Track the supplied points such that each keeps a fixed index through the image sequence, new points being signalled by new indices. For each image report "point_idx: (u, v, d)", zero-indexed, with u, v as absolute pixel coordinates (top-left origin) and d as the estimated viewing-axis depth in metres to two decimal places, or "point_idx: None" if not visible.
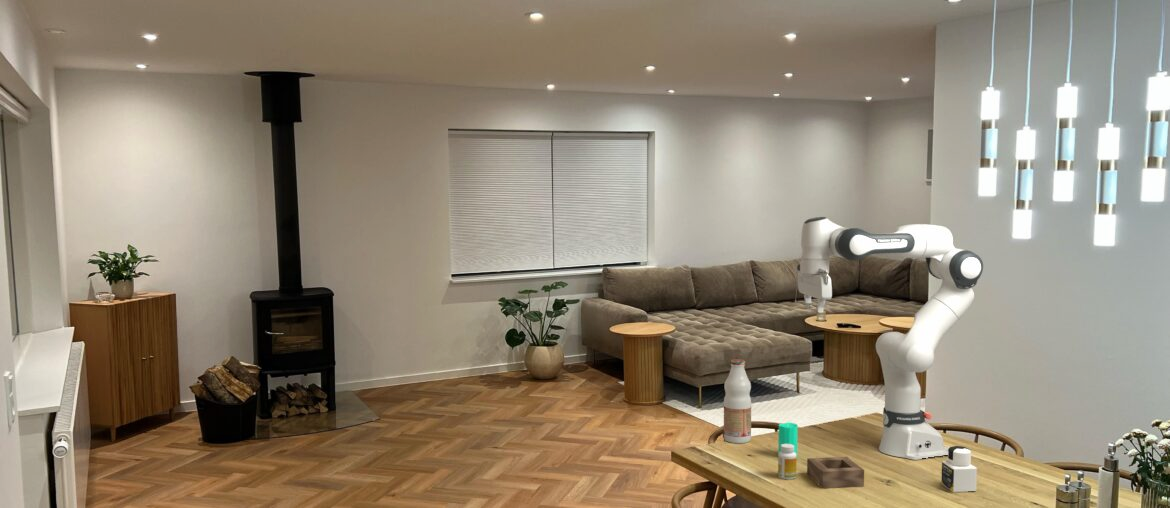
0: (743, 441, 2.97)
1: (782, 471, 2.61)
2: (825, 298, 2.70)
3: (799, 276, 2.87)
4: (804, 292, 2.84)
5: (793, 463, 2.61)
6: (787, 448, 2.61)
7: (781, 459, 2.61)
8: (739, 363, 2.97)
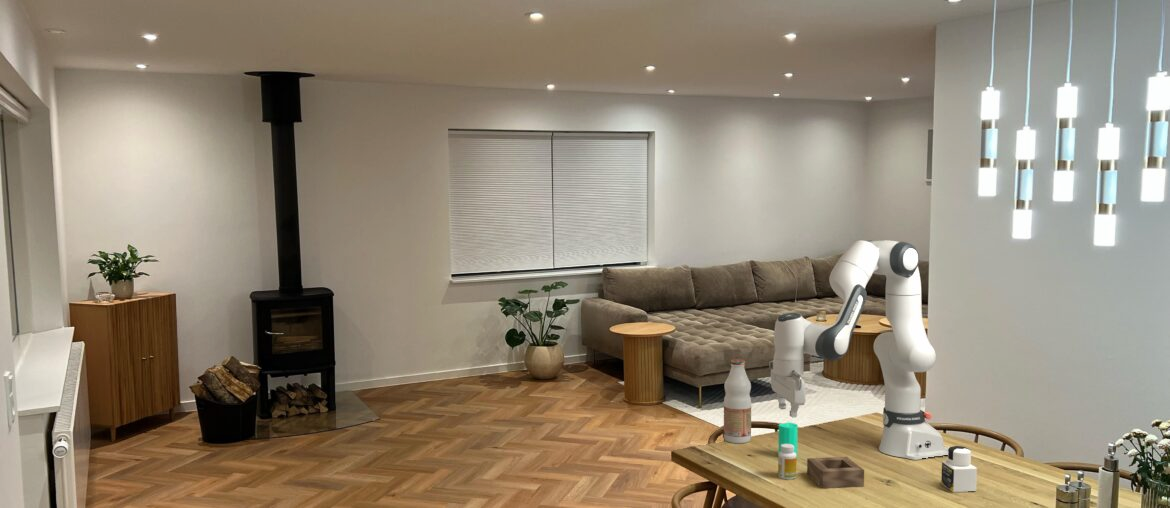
0: (743, 441, 2.97)
1: (782, 471, 2.61)
2: (798, 404, 2.52)
3: (772, 374, 2.69)
4: (777, 392, 2.65)
5: (793, 463, 2.61)
6: (787, 448, 2.61)
7: (781, 459, 2.62)
8: (739, 363, 2.97)
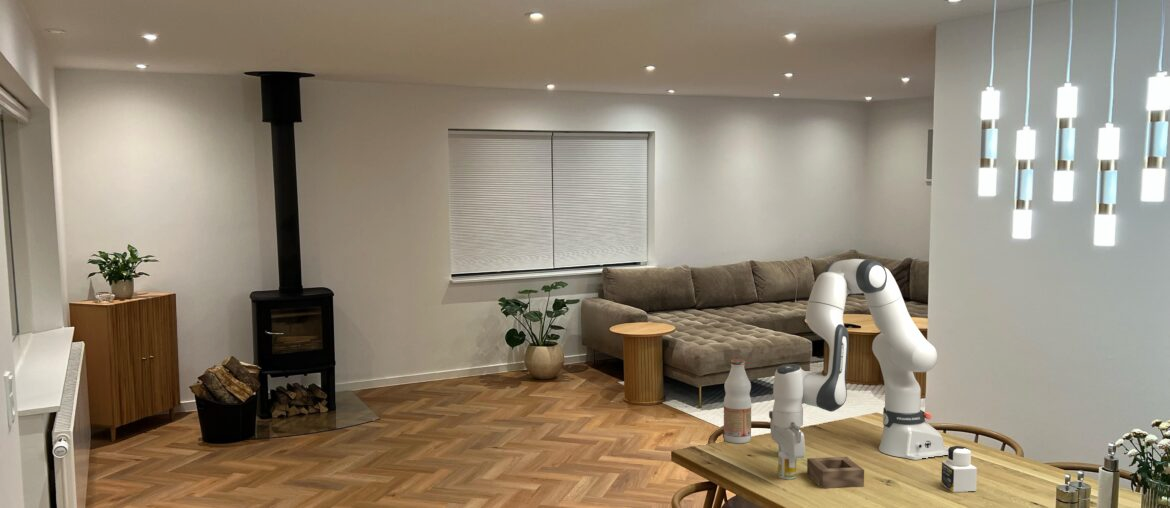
0: (743, 441, 2.97)
1: (782, 471, 2.61)
2: (798, 457, 2.53)
3: (772, 423, 2.70)
4: (777, 442, 2.67)
5: None
6: None
7: (781, 459, 2.62)
8: (739, 363, 2.97)
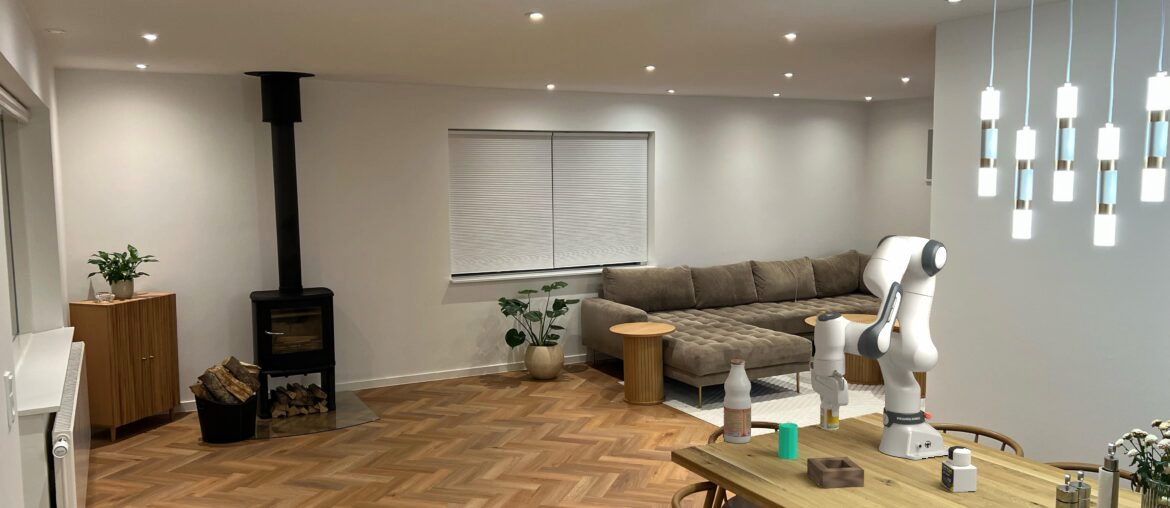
0: (743, 441, 2.97)
1: (825, 422, 2.58)
2: (841, 404, 2.49)
3: (813, 374, 2.66)
4: (818, 392, 2.63)
5: None
6: None
7: (823, 410, 2.58)
8: (739, 363, 2.97)
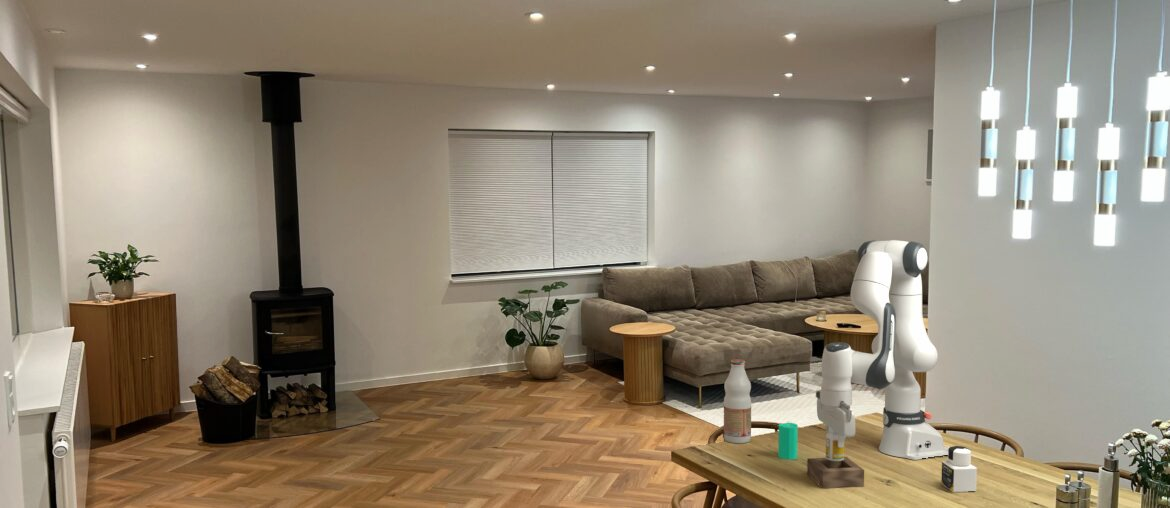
0: (743, 441, 2.97)
1: (830, 453, 2.57)
2: (848, 435, 2.49)
3: (818, 403, 2.66)
4: (824, 422, 2.63)
5: None
6: None
7: (829, 441, 2.58)
8: (739, 363, 2.97)
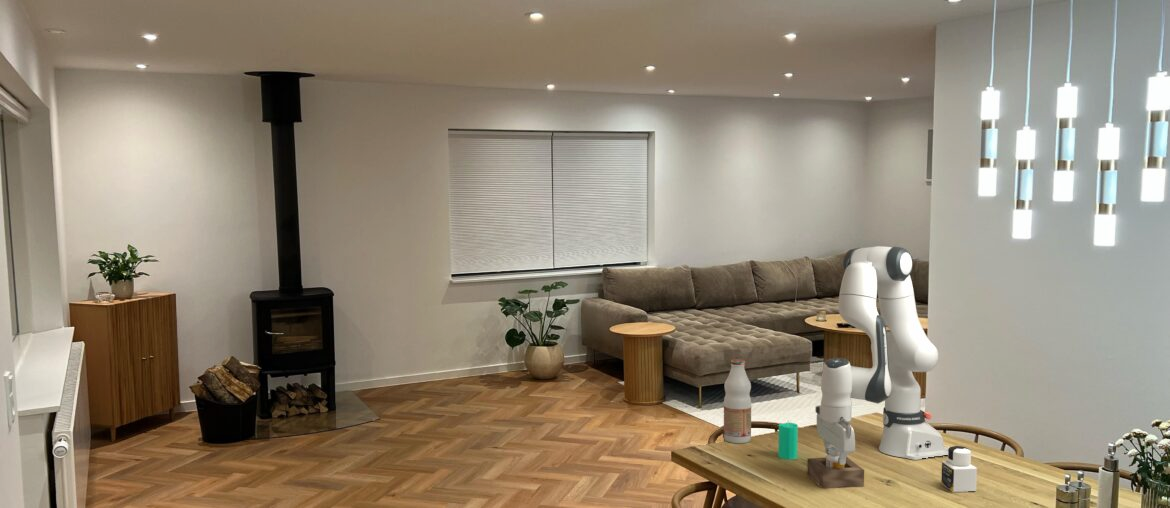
0: (743, 441, 2.97)
1: None
2: (848, 452, 2.49)
3: (818, 418, 2.66)
4: (824, 437, 2.63)
5: (841, 466, 2.57)
6: (835, 451, 2.57)
7: (829, 462, 2.58)
8: (739, 363, 2.97)
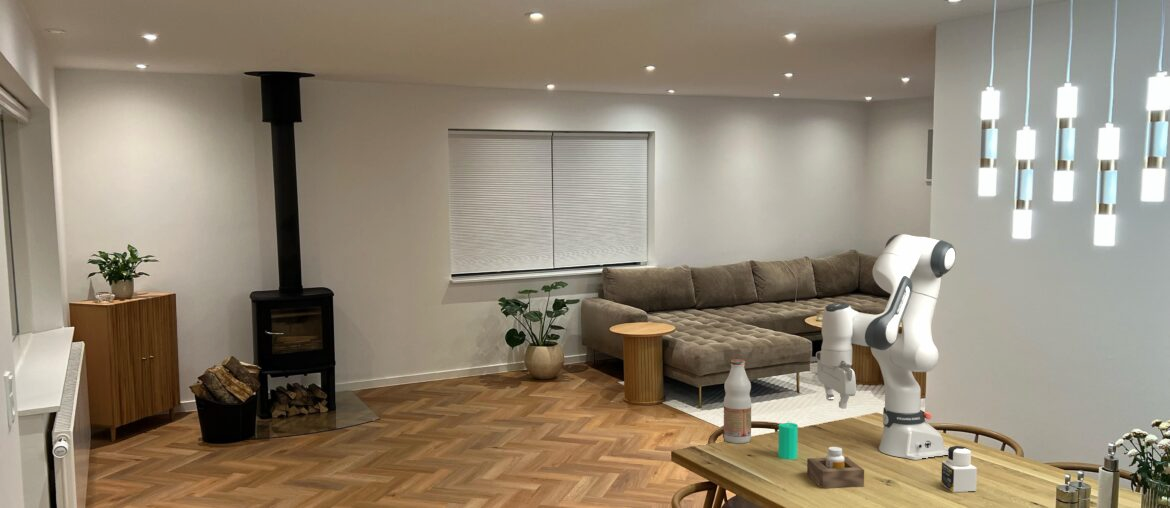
0: (743, 441, 2.97)
1: None
2: (849, 395, 2.48)
3: (819, 365, 2.65)
4: (825, 383, 2.62)
5: (841, 466, 2.57)
6: (835, 451, 2.57)
7: (829, 462, 2.58)
8: (739, 363, 2.97)
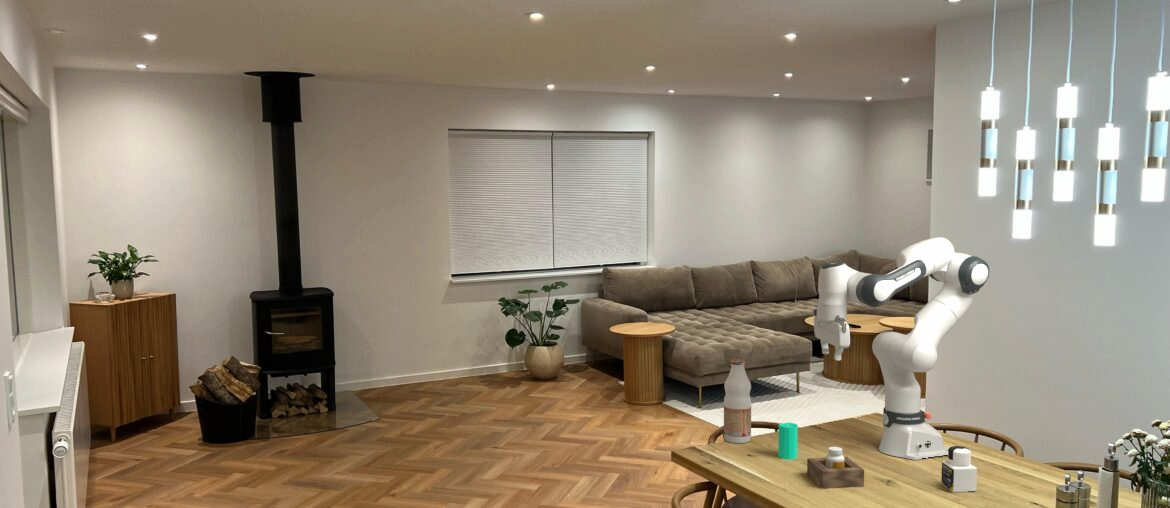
0: (743, 441, 2.97)
1: None
2: (843, 346, 2.64)
3: (815, 321, 2.80)
4: (821, 338, 2.77)
5: (841, 466, 2.57)
6: (835, 451, 2.58)
7: (829, 462, 2.58)
8: (739, 363, 2.97)
